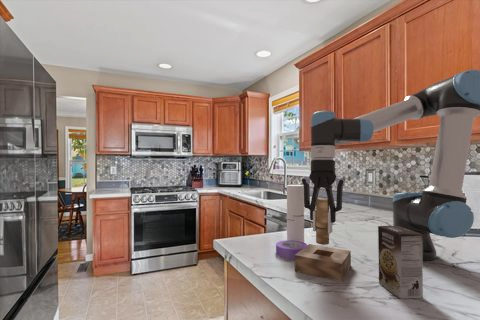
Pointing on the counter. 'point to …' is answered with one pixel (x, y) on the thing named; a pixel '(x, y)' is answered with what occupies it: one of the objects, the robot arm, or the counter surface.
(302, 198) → the cylindrical container
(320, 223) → the peg
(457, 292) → the counter surface
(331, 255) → the seat block
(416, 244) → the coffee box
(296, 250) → the masking tape
